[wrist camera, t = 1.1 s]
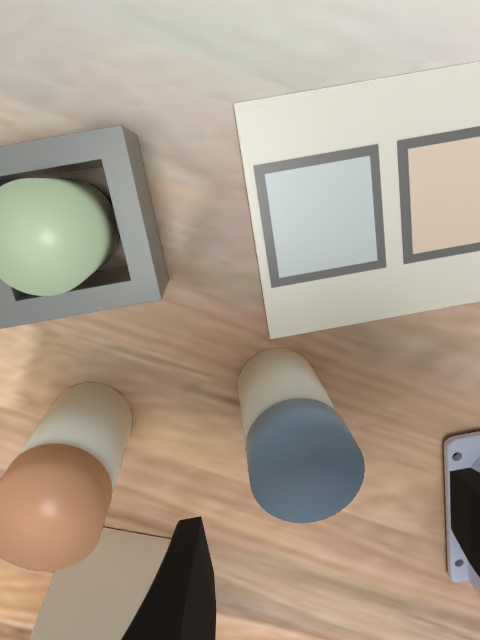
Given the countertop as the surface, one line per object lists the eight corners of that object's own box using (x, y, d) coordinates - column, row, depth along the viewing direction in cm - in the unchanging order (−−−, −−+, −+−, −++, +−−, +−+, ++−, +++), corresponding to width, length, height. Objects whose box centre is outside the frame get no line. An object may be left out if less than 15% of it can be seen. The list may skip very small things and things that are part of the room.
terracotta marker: (141, 445, 22) (114, 559, 16) (63, 460, 22) (2, 580, 16) (122, 374, 21) (84, 464, 14) (39, 389, 21) (-37, 487, 14)
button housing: (168, 279, 20) (161, 299, 17) (33, 303, 20) (-1, 329, 16) (137, 135, 18) (121, 125, 15) (-12, 161, 18) (-62, 156, 15)
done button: (128, 265, 18) (110, 285, 14) (38, 281, 18) (-1, 304, 14) (105, 170, 17) (80, 168, 13) (9, 187, 17) (-41, 189, 13)
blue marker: (320, 412, 22) (368, 511, 16) (243, 427, 22) (259, 532, 16) (311, 340, 21) (359, 413, 15) (230, 355, 21) (240, 435, 15)
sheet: (519, 291, 21) (525, 294, 21) (269, 337, 21) (270, 340, 21) (525, 54, 18) (533, 51, 18) (233, 104, 18) (233, 103, 18)
